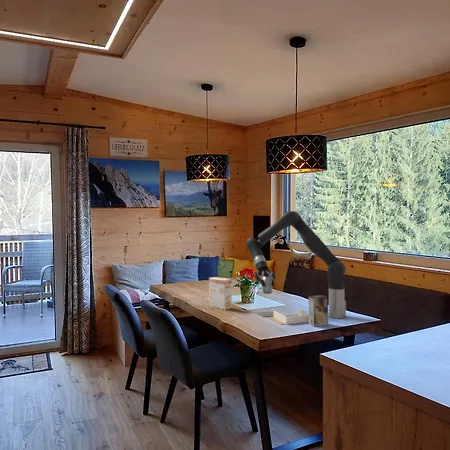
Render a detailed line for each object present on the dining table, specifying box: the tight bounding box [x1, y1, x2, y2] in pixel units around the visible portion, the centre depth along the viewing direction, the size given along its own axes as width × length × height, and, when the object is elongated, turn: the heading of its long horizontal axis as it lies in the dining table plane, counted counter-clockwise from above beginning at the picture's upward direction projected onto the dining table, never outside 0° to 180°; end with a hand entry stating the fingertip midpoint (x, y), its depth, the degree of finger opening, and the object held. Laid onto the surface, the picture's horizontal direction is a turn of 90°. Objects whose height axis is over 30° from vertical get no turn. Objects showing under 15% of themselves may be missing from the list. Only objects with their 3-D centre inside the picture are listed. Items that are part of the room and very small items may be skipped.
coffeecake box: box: [208, 276, 233, 311], centre depth 288 cm, size 15×7×20 cm, turn 44°
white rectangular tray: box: [268, 308, 309, 325], centre depth 257 cm, size 23×18×4 cm
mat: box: [256, 311, 274, 318], centre depth 268 cm, size 10×10×1 cm
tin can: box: [262, 275, 273, 295], centre depth 267 cm, size 6×6×10 cm
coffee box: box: [308, 294, 329, 327], centre depth 244 cm, size 9×6×16 cm
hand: (268, 285), depth 265 cm, fingers closed on tin can, 5 cm apart
